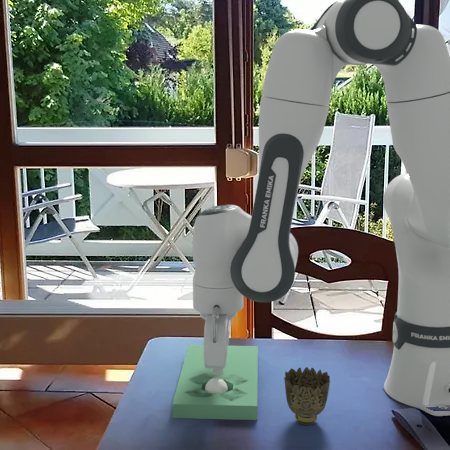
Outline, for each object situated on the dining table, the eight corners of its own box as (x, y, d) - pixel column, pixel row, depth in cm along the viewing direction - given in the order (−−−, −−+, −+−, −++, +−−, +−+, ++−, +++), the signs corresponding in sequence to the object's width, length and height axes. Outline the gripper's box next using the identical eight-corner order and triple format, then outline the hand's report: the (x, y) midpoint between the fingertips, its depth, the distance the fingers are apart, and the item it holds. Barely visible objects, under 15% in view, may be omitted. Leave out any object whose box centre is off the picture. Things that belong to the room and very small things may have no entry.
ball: (228, 383, 122) (227, 373, 118) (228, 404, 119) (227, 395, 116) (205, 383, 122) (204, 374, 119) (205, 405, 119) (203, 396, 116)
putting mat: (257, 357, 138) (257, 346, 137) (257, 420, 112) (257, 406, 112) (188, 356, 138) (188, 344, 138) (172, 417, 113) (172, 403, 112)
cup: (327, 434, 108) (329, 387, 106) (280, 430, 109) (281, 383, 107) (329, 412, 115) (331, 368, 113) (286, 408, 116) (287, 364, 115)
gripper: (234, 317, 108) (233, 398, 111) (238, 281, 128) (237, 350, 131) (194, 317, 109) (195, 397, 112) (204, 280, 129) (205, 349, 132)
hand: (218, 371), depth 122 cm, fingers closed
